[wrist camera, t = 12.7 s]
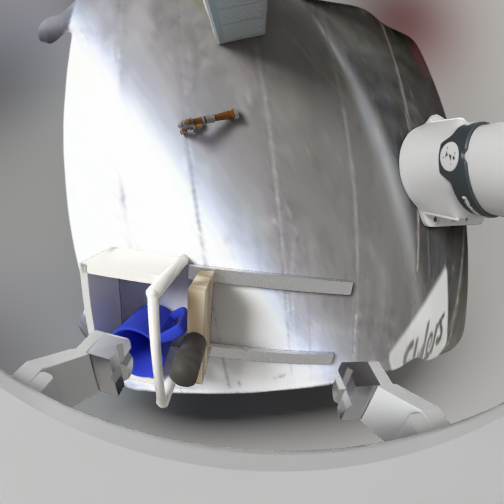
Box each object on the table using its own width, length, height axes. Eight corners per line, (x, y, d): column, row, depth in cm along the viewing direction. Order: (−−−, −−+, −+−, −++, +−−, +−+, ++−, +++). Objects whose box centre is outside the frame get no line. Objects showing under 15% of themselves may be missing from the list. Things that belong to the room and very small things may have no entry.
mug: (211, 320, 41) (200, 358, 31) (154, 348, 43) (134, 384, 33) (181, 277, 39) (160, 305, 30) (125, 309, 41) (98, 340, 31)
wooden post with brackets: (172, 128, 33) (177, 117, 29) (225, 116, 36) (236, 105, 32) (176, 140, 34) (180, 129, 30) (229, 127, 36) (240, 116, 32)
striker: (217, 271, 38) (197, 320, 24) (212, 356, 41) (197, 420, 27) (196, 269, 38) (166, 315, 24) (194, 353, 41) (173, 416, 27)
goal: (189, 255, 38) (158, 290, 25) (187, 355, 43) (167, 411, 30) (111, 245, 38) (58, 272, 25) (118, 341, 42) (83, 387, 29)
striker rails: (351, 280, 39) (353, 282, 38) (329, 361, 43) (331, 364, 42) (190, 263, 39) (188, 265, 38) (188, 349, 42) (187, 352, 41)
